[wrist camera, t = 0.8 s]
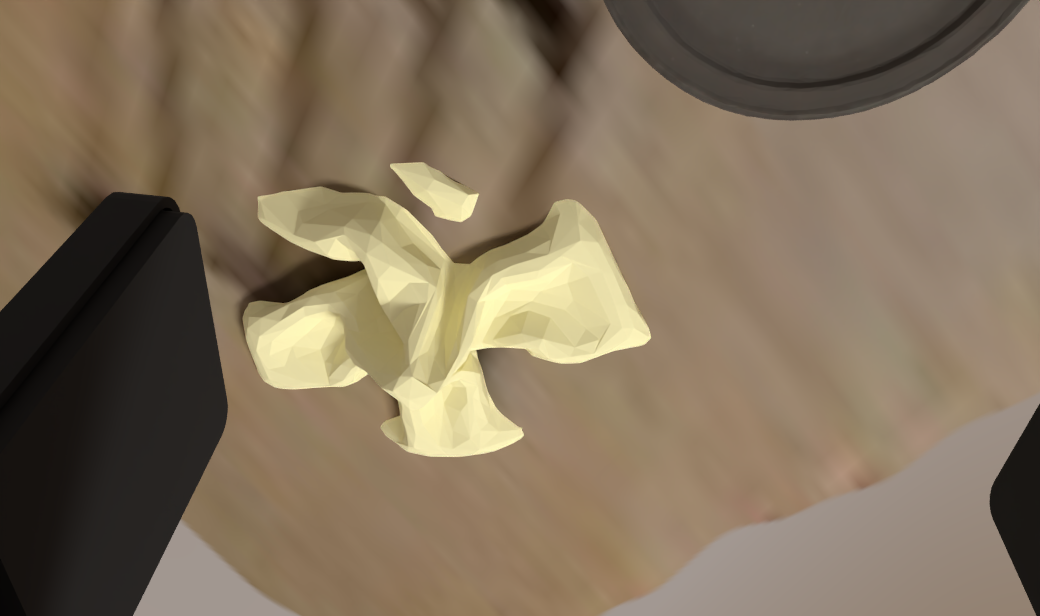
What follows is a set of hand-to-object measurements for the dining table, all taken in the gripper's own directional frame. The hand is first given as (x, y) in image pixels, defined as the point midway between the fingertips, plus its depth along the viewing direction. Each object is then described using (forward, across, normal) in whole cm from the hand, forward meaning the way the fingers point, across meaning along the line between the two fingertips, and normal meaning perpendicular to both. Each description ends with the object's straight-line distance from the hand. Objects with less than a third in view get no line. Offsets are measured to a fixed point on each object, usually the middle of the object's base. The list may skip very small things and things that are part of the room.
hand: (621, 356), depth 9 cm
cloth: (+27, +7, +19) cm, 34 cm away
